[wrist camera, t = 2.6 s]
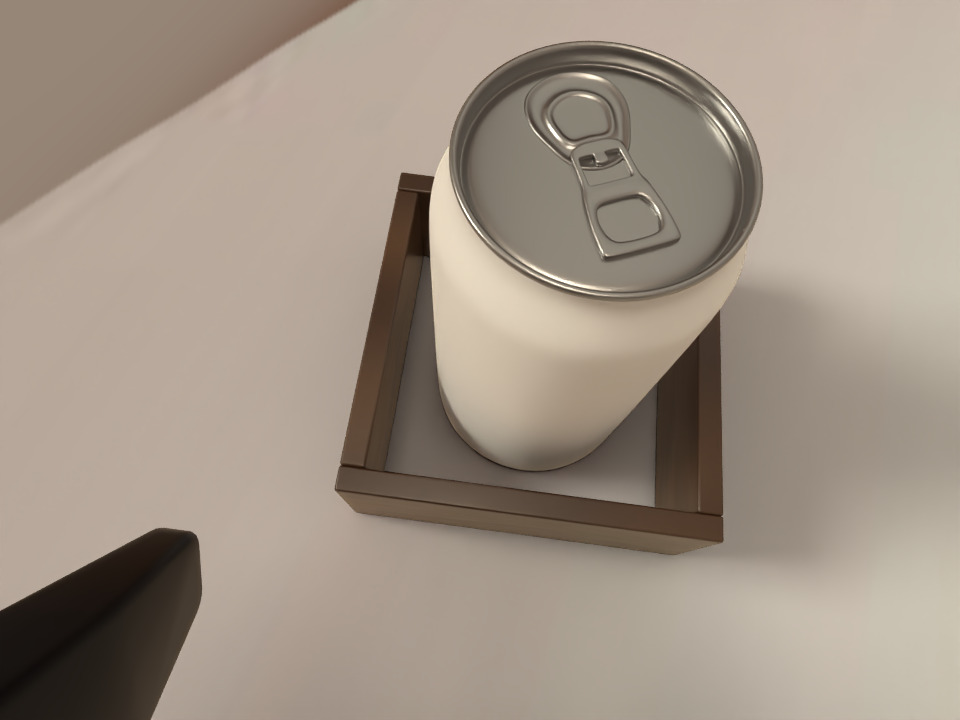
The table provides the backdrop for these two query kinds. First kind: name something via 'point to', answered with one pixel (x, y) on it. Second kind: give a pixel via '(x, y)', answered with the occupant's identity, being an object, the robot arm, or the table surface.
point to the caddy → (661, 529)
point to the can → (581, 242)
